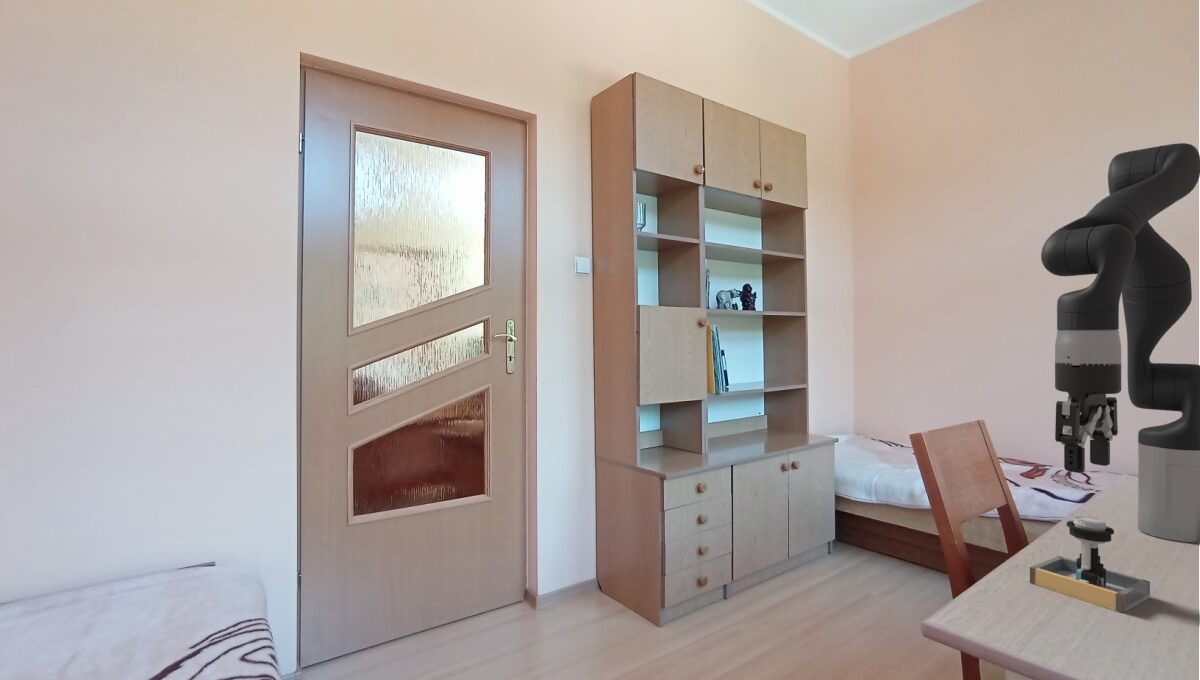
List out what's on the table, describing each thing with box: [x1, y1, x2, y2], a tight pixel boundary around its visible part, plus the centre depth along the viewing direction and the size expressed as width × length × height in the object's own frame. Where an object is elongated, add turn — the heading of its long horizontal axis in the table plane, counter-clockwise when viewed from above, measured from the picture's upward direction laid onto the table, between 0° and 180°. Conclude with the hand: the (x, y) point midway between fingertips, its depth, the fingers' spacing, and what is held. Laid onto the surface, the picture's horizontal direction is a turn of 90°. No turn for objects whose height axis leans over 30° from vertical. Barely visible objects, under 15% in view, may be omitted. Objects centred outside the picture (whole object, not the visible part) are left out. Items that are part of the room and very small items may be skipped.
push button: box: [1066, 515, 1115, 588], centre depth 83 cm, size 7×5×10 cm
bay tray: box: [1029, 555, 1151, 614], centre depth 84 cm, size 10×11×2 cm
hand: (1087, 468), depth 84 cm, fingers open, 8 cm apart
